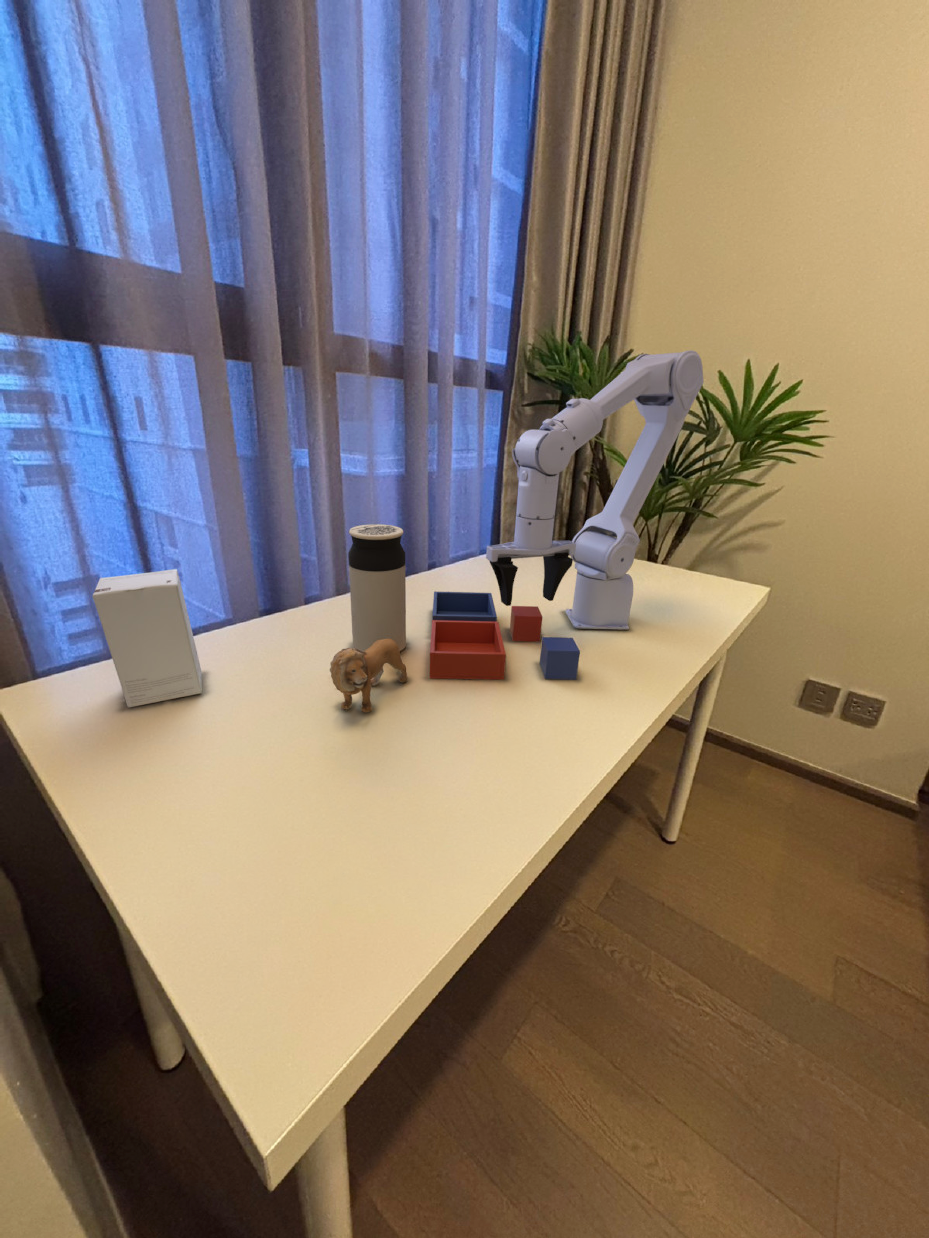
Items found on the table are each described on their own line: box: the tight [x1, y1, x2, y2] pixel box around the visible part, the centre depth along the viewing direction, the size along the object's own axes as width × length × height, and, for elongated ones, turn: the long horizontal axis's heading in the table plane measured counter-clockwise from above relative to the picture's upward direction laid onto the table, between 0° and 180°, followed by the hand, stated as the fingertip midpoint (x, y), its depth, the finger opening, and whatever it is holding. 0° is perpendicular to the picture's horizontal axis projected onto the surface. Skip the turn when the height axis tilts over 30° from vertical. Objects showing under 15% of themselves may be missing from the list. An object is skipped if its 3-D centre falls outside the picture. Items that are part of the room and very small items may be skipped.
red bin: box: [429, 619, 507, 681], centre depth 73 cm, size 10×11×4 cm
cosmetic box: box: [92, 568, 203, 708], centre depth 60 cm, size 8×6×15 cm
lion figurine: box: [329, 639, 408, 713], centre depth 62 cm, size 15×5×9 cm, turn 162°
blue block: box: [539, 636, 581, 680], centre depth 71 cm, size 4×4×4 cm
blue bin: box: [431, 590, 498, 622], centre depth 85 cm, size 10×11×4 cm
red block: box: [509, 605, 543, 643], centre depth 82 cm, size 4×4×4 cm
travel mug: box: [347, 523, 407, 652], centre depth 74 cm, size 8×8×18 cm
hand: (527, 601), depth 80 cm, fingers open, 7 cm apart
